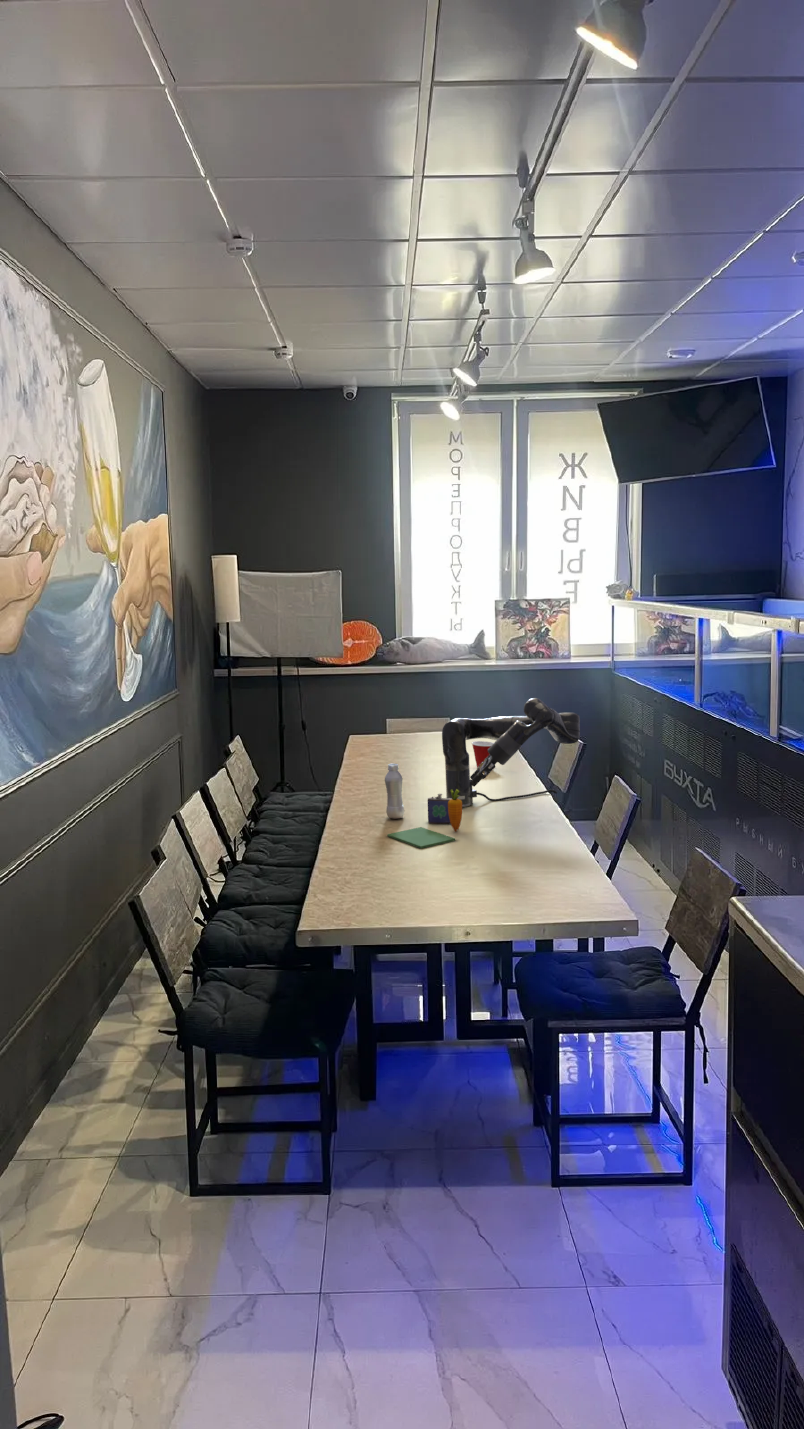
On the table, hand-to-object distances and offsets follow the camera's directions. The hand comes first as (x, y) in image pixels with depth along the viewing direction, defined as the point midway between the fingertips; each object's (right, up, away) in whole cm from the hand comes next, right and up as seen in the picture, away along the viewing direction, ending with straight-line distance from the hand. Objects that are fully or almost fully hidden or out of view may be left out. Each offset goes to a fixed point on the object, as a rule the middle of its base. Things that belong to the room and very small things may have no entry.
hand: (471, 782), depth 327 cm
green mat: (-17, -19, -4) cm, 26 cm away
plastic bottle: (-26, -15, +25) cm, 39 cm away
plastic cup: (+13, -2, +108) cm, 109 cm away
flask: (-10, -16, +15) cm, 24 cm away
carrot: (-5, -17, +3) cm, 18 cm away
